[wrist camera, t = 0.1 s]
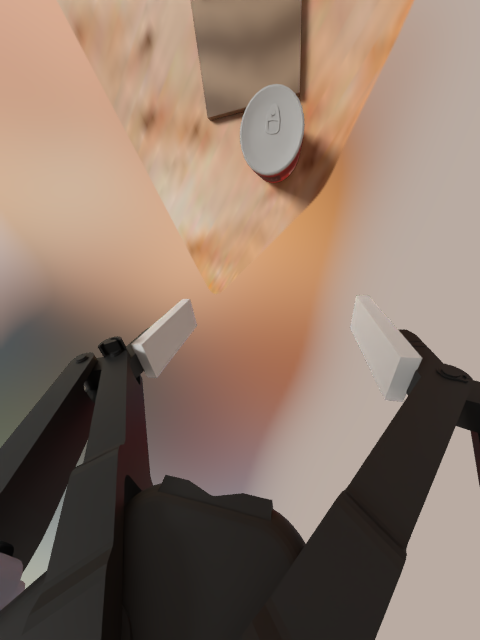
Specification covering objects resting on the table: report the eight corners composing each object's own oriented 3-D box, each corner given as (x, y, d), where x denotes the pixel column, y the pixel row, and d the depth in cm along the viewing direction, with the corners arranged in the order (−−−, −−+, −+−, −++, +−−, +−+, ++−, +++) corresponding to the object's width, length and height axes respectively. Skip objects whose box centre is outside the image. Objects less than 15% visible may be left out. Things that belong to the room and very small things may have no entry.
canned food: (298, 112, 29) (302, 68, 20) (302, 175, 33) (306, 164, 23) (249, 131, 31) (232, 99, 22) (257, 188, 35) (246, 182, 26)
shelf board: (190, -18, 25) (177, -48, 22) (302, -71, 22) (304, -115, 19) (210, 120, 32) (202, 111, 29) (299, 96, 28) (300, 83, 25)
